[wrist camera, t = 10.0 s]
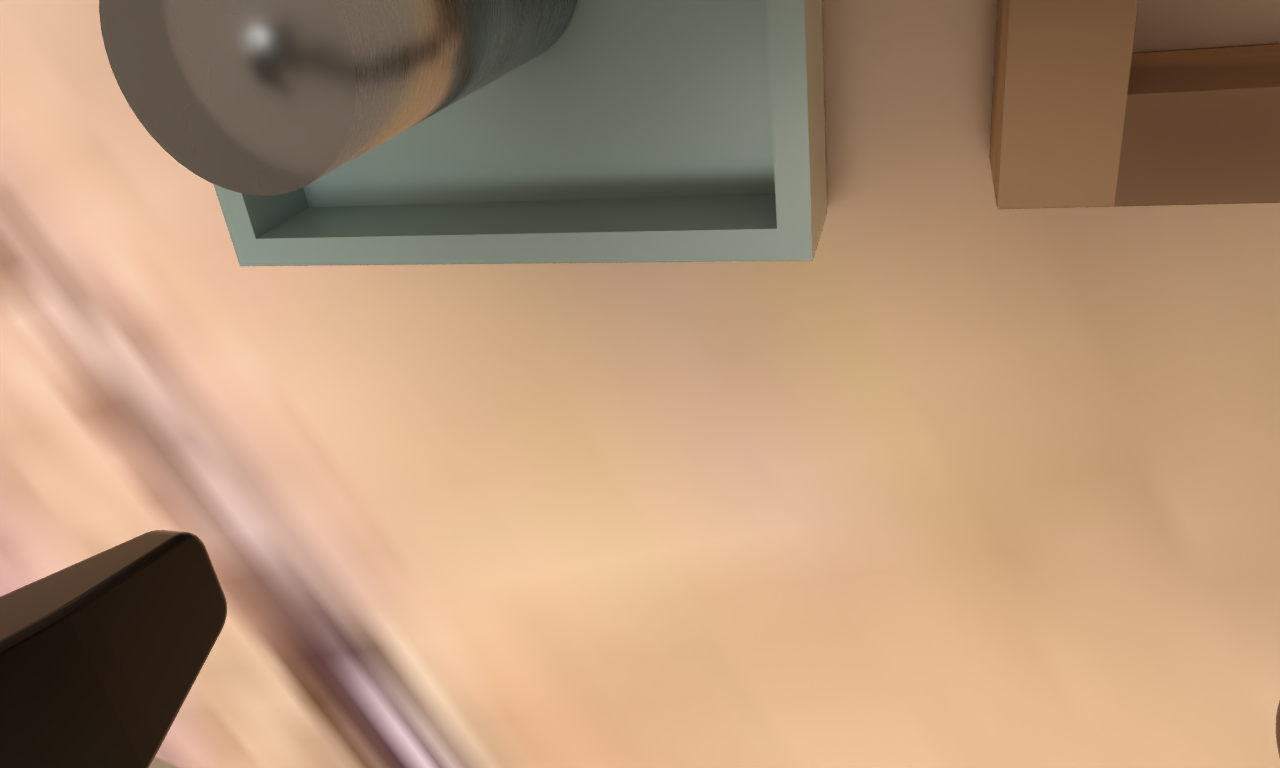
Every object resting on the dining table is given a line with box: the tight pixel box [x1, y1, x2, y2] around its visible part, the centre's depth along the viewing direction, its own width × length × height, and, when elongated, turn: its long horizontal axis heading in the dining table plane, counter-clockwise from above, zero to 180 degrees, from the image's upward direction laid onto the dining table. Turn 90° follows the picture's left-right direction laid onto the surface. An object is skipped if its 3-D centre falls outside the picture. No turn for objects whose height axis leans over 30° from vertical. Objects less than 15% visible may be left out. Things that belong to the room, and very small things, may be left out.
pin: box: [99, 0, 577, 196], centre depth 15 cm, size 3×3×8 cm
